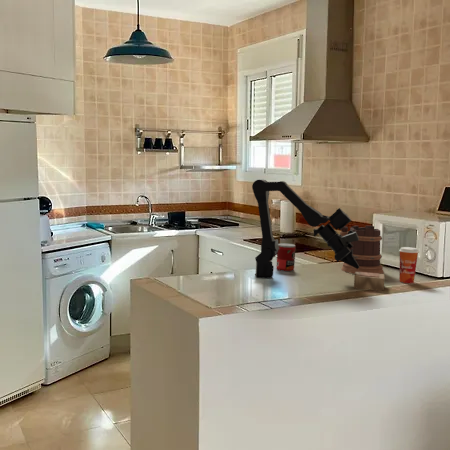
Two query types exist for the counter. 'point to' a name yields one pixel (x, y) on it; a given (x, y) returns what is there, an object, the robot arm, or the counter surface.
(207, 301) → the counter surface
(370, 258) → the mug
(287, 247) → the canned food
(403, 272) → the paper cup
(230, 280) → the counter surface
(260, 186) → the robot arm
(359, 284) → the wooden box
